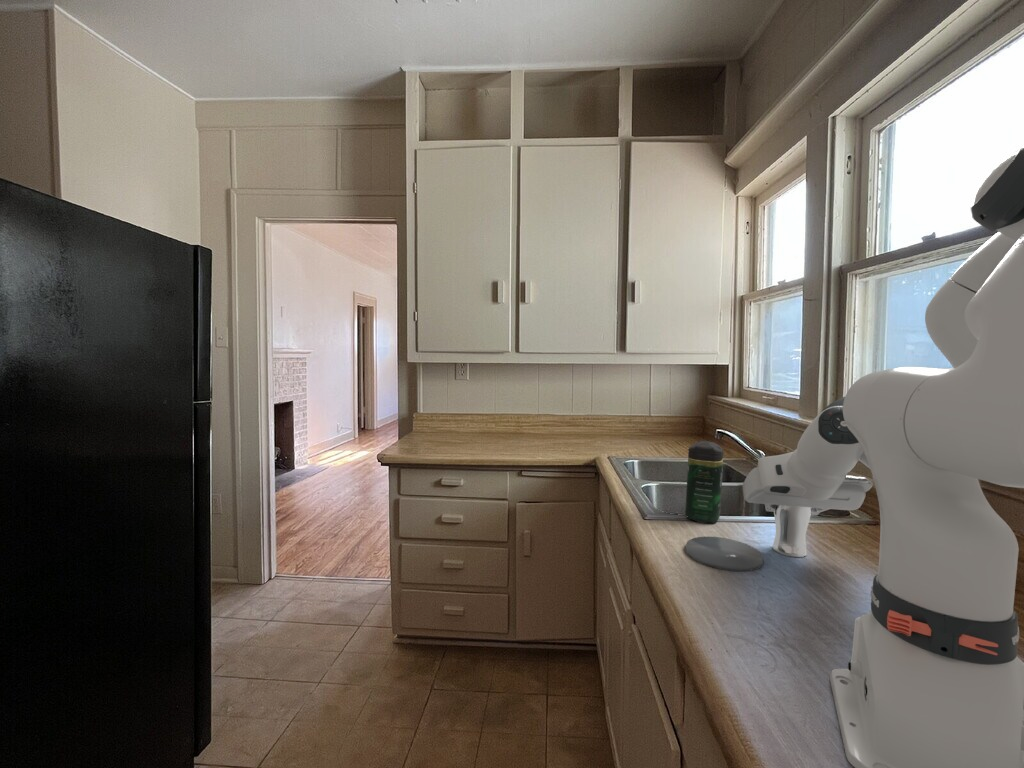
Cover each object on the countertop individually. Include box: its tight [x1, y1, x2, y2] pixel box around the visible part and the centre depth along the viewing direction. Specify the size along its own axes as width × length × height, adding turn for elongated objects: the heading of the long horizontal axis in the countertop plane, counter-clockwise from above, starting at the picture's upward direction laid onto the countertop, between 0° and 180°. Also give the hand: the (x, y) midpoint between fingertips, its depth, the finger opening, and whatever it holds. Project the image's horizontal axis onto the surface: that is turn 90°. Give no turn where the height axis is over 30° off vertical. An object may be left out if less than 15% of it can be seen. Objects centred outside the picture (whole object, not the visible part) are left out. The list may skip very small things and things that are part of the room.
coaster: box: [685, 536, 764, 572], centre depth 96 cm, size 14×14×1 cm
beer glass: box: [772, 505, 812, 558], centre depth 98 cm, size 7×7×15 cm
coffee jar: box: [684, 440, 724, 524], centre depth 117 cm, size 10×8×19 cm
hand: (790, 510), depth 98 cm, fingers closed on beer glass, 7 cm apart
